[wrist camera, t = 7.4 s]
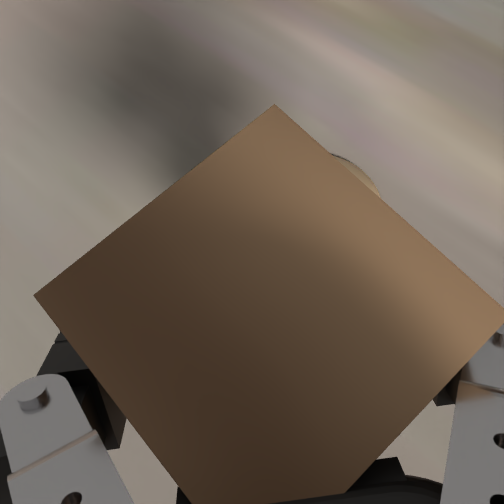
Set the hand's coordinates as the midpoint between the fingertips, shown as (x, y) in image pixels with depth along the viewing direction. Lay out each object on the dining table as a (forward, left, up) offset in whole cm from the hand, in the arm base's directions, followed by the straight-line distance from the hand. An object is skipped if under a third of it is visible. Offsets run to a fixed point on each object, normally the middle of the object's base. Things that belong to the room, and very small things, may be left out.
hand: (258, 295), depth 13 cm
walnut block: (+1, +1, -4) cm, 5 cm away
